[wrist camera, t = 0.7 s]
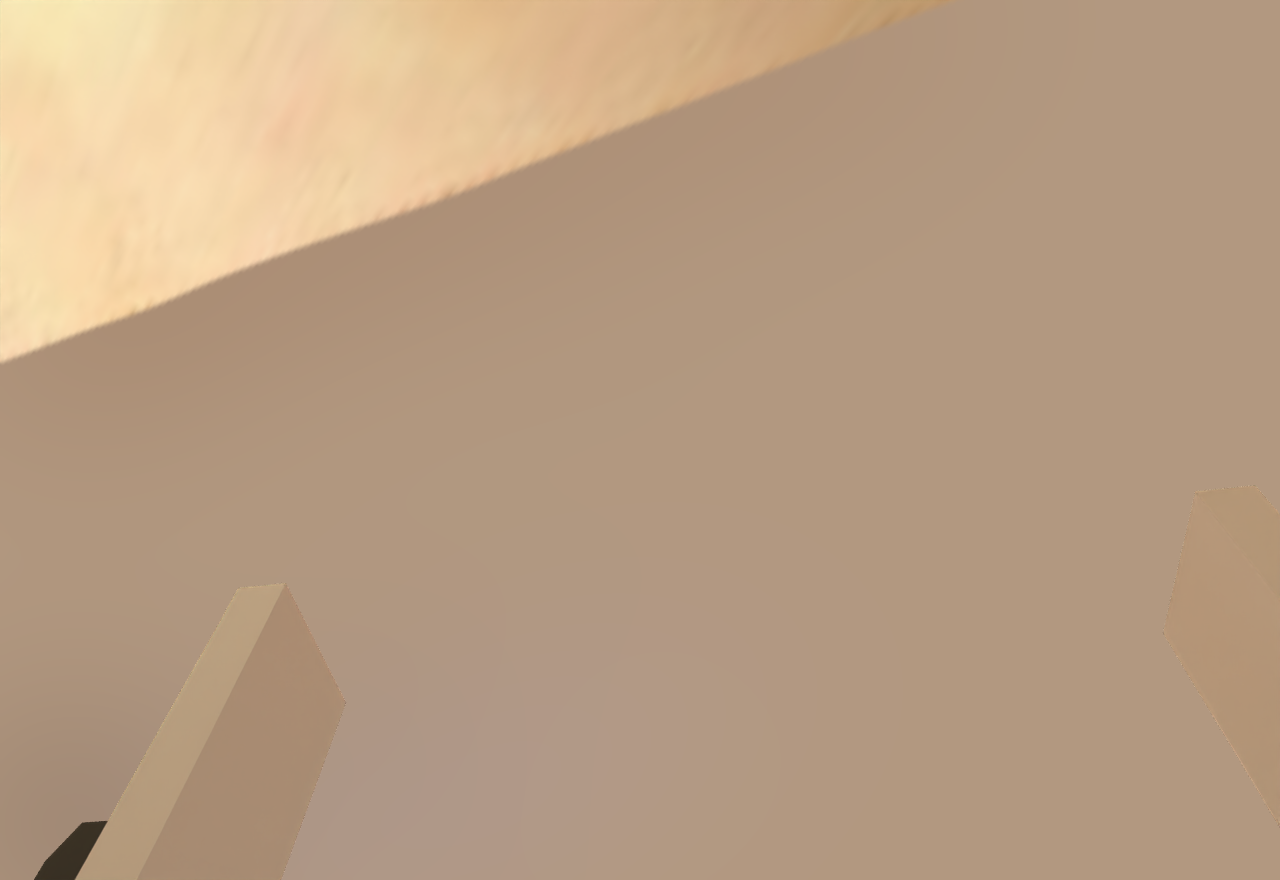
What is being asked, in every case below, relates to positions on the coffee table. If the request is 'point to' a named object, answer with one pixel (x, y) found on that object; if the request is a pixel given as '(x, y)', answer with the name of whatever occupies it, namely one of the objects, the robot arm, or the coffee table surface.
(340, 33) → the coffee table surface
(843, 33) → the coffee table surface
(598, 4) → the coffee table surface
